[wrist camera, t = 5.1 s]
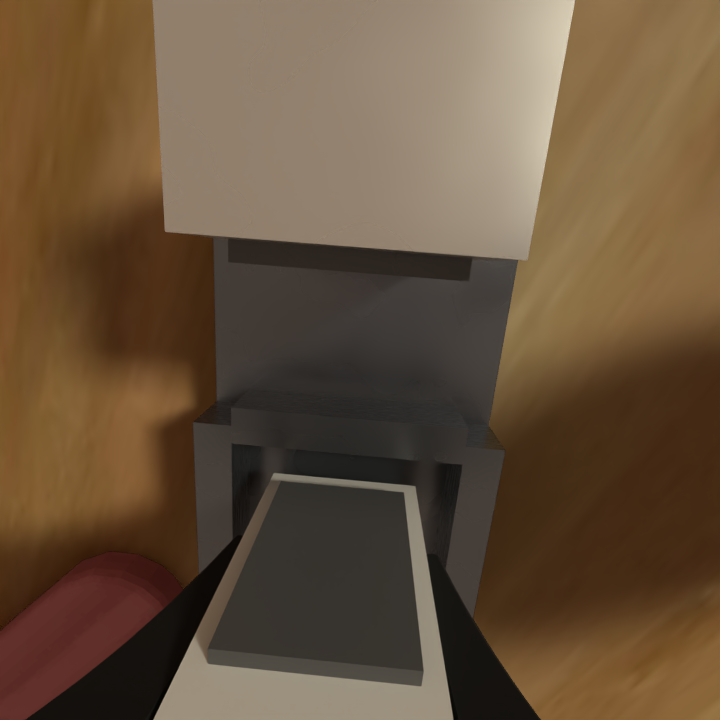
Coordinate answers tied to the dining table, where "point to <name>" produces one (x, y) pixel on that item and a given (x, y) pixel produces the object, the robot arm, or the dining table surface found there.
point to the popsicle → (77, 627)
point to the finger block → (320, 613)
